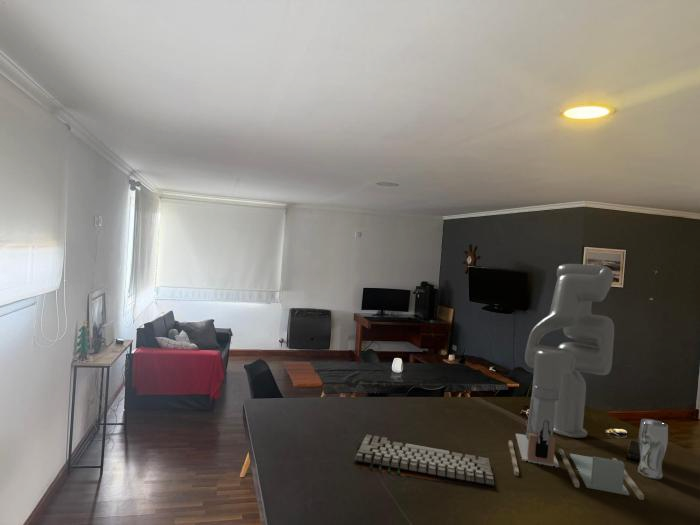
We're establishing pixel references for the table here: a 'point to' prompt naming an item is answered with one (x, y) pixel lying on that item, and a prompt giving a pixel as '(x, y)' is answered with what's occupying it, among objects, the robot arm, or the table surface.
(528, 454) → the strip
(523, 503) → the table surface
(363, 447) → the mechanical keyboard
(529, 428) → the beverage can
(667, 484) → the table surface
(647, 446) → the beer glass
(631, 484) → the lane frame
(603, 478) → the strip
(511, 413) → the table surface
